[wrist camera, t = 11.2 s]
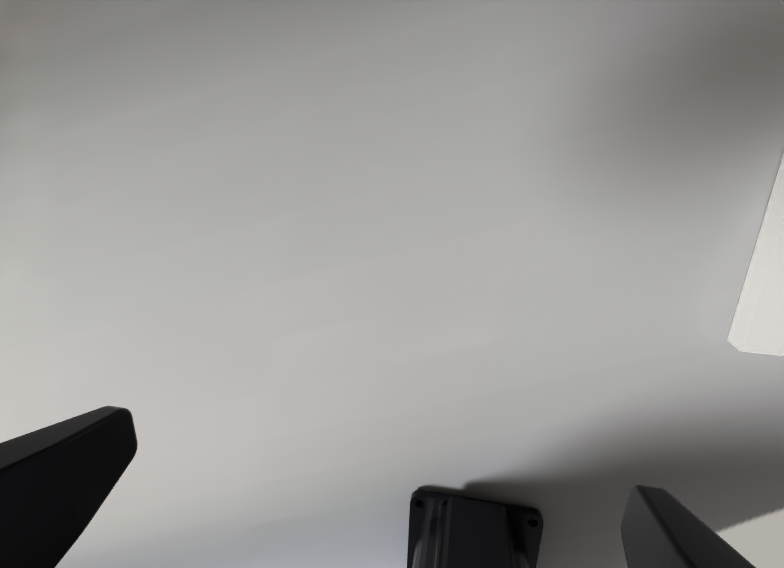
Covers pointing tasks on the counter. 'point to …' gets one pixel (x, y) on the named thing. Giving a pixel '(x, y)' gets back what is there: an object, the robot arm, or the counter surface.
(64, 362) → the counter surface
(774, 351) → the socket board
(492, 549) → the robot arm
